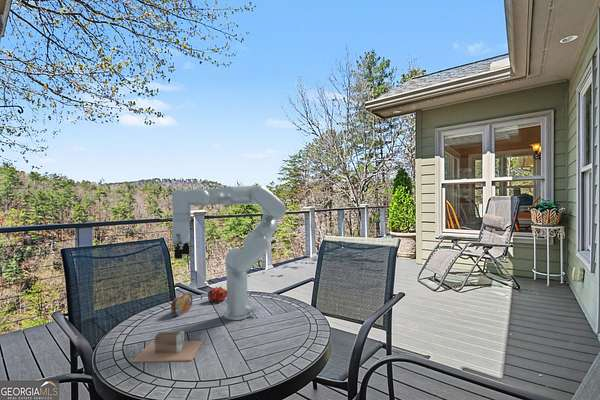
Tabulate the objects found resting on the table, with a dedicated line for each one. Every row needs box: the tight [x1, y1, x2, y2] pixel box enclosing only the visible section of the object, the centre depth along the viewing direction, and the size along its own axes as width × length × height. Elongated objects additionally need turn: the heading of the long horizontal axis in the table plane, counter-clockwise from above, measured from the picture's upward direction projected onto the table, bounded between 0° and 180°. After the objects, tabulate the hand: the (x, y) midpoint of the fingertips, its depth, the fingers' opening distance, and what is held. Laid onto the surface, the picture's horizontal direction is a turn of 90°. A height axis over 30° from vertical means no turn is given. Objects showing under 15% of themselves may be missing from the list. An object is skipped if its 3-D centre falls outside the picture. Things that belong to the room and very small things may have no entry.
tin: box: [170, 292, 193, 317], centre depth 156 cm, size 15×3×8 cm, turn 168°
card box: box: [154, 330, 185, 353], centre depth 116 cm, size 4×9×6 cm, turn 92°
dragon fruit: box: [207, 286, 227, 303], centre depth 172 cm, size 8×8×12 cm
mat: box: [132, 340, 204, 363], centre depth 116 cm, size 20×14×1 cm
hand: (182, 256), depth 140 cm, fingers open, 9 cm apart
